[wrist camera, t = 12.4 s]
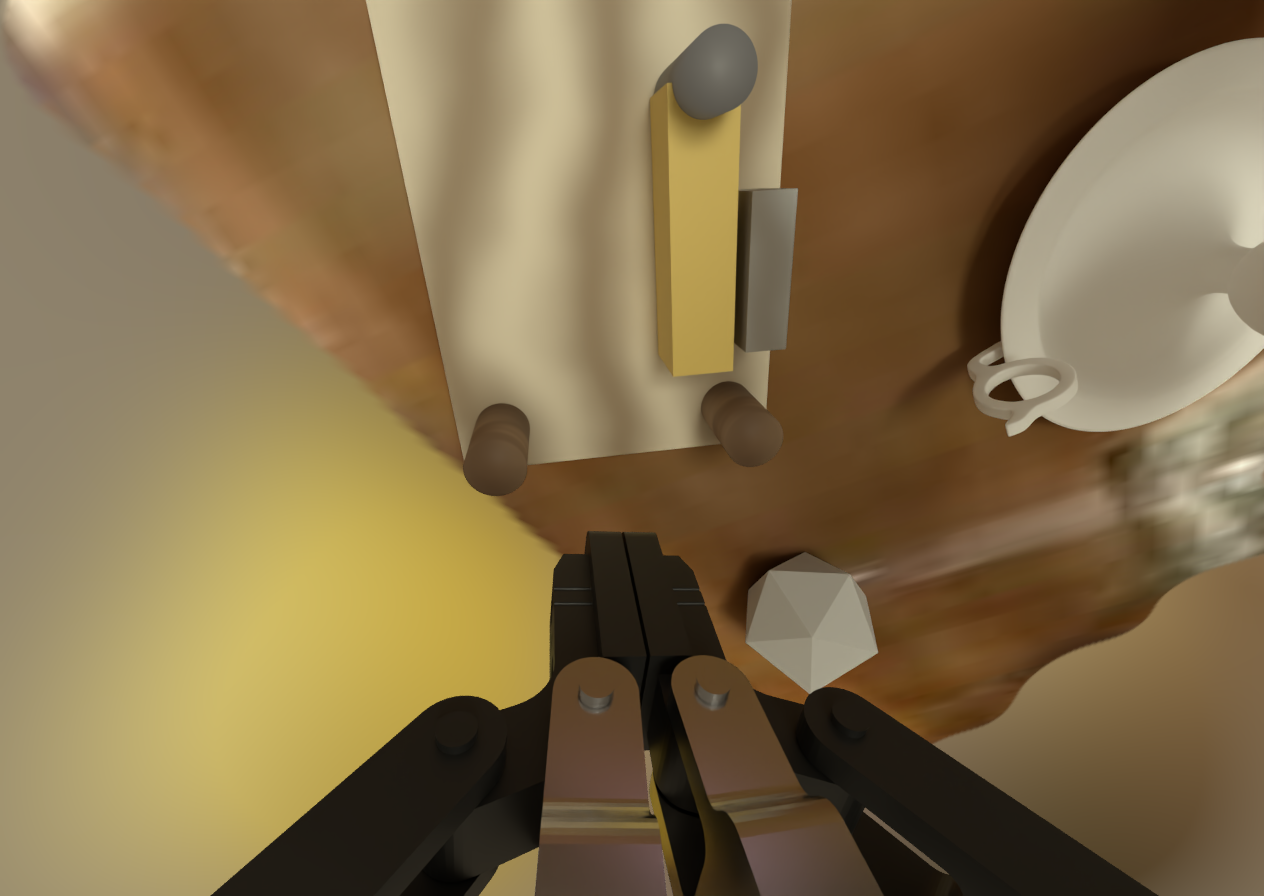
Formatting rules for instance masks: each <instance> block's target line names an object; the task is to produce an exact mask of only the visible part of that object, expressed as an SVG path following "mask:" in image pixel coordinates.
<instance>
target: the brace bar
mask: <svg viewBox="0 0 1264 896" xmlns="http://www.w3.org/2000/svg"><path fill="white" fill-rule="evenodd" d="M757 71H758V60H757V54H756V50H755V47H754V45H753V43H752V41H751V39H750V38H749V36H748V35H747V34H746V33H745V32H744V31H743V30H742V29H740V28H738V27H737V26H734V25H731V24H717V25H713V26H711V27H709V28H707V29H706V30H704V31H703V32H702V33H701V34H700V35H699V36H698V37H697V38H696V39H695V40H694V41H693V42H692V43H691V44H690V45H689V46H688V47H687V48H686V49H685V50H684V51H683V52H682V53H681V54H680V55H679V56H678V57H677V58H676V59H675V60H674V61H673V62H672V63H671V64H670V65H669V66H668V67H667V68H666V69H665V70H664V71H663V73H662V74H661V75H660V77H659V79H658V81H657V83H656V86H655V92H654V95H653V96H652V97H651V98H650V118H651V148H652V179H653V209H654V239H655V269H656V299H657V329H658V355H659V356H660V358H661V359H662V361H663V362H664V364H665V365H666V367H667V368H668V370H669V371H670V373H671V374H672V376H673V377H677V376H687V375H697V374H708V373H718V372H728V371H733V354H734V321H735V287H736V253H737V220H738V186H739V153H740V119H741V104H742V103H743V102H744V101H745V100H746V99H747V98H748V96H749V95H750V93H751V91H752V89H753V87H754V85H755V82H756V78H757Z"/></svg>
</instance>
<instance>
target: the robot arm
mask: <svg viewBox="0 0 1264 896" xmlns="http://www.w3.org/2000/svg"><path fill="white" fill-rule="evenodd" d="M552 588H553V589H552V601H551V616H550V680H549V682H548V683H547V685H546V686H545V687H544V688H543V689H542V691H540V692H539V693H538V694H537V695H535V696H534V697H533V698H531V699H529V700H527V701H525V702H523V703H520V704H518V705H515V706H511V707H509V708H506V709H502V710H498V708H497V707H496V706H495V705H493V704H492V703H491V702H489V701H487V700H485V699H482V698H479V697H474V696H456V697H452V698H448V699H444V700H442V701H440V702H437V703H436V704H434V705H432V706H430V707H429V708H428V709H426V710H425V711H424V712H422V713H421V714H420V715H419V716H418V717H417V718H415V719H414V720H413V721H412V722H411V723H410V724H409V725H407V726H406V727H405V728H404V729H403V730H402V731H401V732H399V733H398V734H397V735H396V736H395V737H393V738H392V739H391V740H390V741H389V742H388V743H386V744H385V745H384V746H383V747H382V748H381V749H380V750H378V751H377V752H376V753H375V754H374V755H373V756H372V757H370V758H369V759H368V760H367V761H366V762H365V763H363V764H362V765H361V766H360V767H359V768H358V769H356V770H355V771H354V772H353V773H352V774H351V775H350V776H348V777H347V778H346V779H345V780H344V781H343V782H341V783H340V784H339V785H338V786H337V787H336V788H335V789H333V790H332V791H331V792H330V793H329V794H328V795H326V796H325V797H324V798H323V799H322V800H321V801H319V802H318V803H317V804H316V805H315V806H314V807H312V808H311V809H310V810H309V811H308V812H307V813H306V814H304V815H303V816H302V817H301V818H300V819H299V820H298V821H296V822H295V823H294V824H293V825H292V826H291V827H289V828H288V829H287V830H286V831H285V832H284V833H282V834H281V835H280V836H279V837H278V838H277V839H276V840H274V841H273V842H272V843H271V844H270V845H269V846H268V847H266V848H265V849H264V850H263V851H262V852H261V853H259V854H258V855H257V856H256V857H255V858H254V859H252V860H251V861H250V862H249V863H248V864H247V865H245V866H244V867H243V868H242V869H241V870H240V871H238V872H237V873H236V874H235V875H234V876H233V877H232V878H230V879H229V880H228V881H227V882H226V883H225V884H224V885H222V886H221V887H220V888H219V889H218V890H217V891H215V892H214V893H213V894H212V895H211V896H479V894H480V893H481V892H482V890H483V889H484V888H485V886H486V885H487V884H488V882H489V881H490V880H491V878H492V877H493V875H494V874H495V872H496V870H497V868H498V866H499V865H500V864H503V863H505V862H507V861H509V860H512V859H514V858H516V857H518V856H520V855H522V854H525V853H527V852H529V851H531V850H533V849H535V848H537V847H539V852H538V864H537V875H536V887H535V896H667V894H666V883H665V873H664V864H663V854H664V859H665V863H666V867H667V871H668V876H669V880H670V884H671V888H672V893H673V896H1158V895H1157V894H1155V893H1153V892H1152V891H1151V890H1149V889H1148V888H1146V887H1145V886H1143V885H1141V884H1140V883H1139V882H1137V881H1136V880H1134V879H1133V878H1131V877H1130V876H1128V875H1127V874H1125V873H1124V872H1122V871H1121V870H1119V869H1118V868H1116V867H1115V866H1113V865H1112V864H1110V863H1109V862H1107V861H1106V860H1104V859H1103V858H1101V857H1100V856H1098V855H1097V854H1095V853H1094V852H1092V851H1091V850H1089V849H1088V848H1086V847H1085V846H1083V845H1082V844H1080V843H1079V842H1077V841H1076V840H1074V839H1073V838H1071V837H1070V836H1068V835H1067V834H1065V833H1064V832H1063V831H1061V830H1060V829H1058V828H1056V827H1055V826H1054V825H1052V824H1050V823H1049V822H1048V821H1046V820H1045V819H1043V818H1041V817H1040V816H1039V815H1037V814H1036V813H1034V812H1032V811H1031V810H1030V809H1028V808H1027V807H1025V806H1024V805H1022V804H1021V803H1019V802H1018V801H1016V800H1015V799H1013V798H1012V797H1010V796H1009V795H1007V794H1006V793H1004V792H1003V791H1001V790H1000V789H998V788H997V787H995V786H994V785H992V784H991V783H989V782H987V781H986V780H985V779H983V778H982V777H980V776H978V775H977V774H975V773H974V772H973V771H971V770H970V769H968V768H967V767H965V766H964V765H962V764H961V763H959V762H958V761H956V760H955V759H953V758H952V757H950V756H949V755H947V754H946V753H944V752H943V751H941V750H940V749H938V748H937V747H935V746H934V745H932V744H931V743H929V742H928V741H927V740H925V739H924V738H922V737H921V736H919V735H918V734H916V733H915V732H913V731H912V730H910V729H909V728H907V727H906V726H904V725H903V724H901V723H900V722H898V721H897V720H895V719H894V718H892V717H891V716H889V715H888V714H886V713H885V712H883V711H882V710H880V709H879V708H877V707H876V706H874V705H873V704H871V703H870V702H868V701H867V700H865V699H864V698H862V697H860V696H859V695H857V694H854V693H852V692H850V691H847V690H844V689H840V688H834V687H825V688H820V689H817V690H815V691H813V692H812V693H811V694H809V696H808V697H807V699H806V701H805V704H804V705H803V704H799V703H795V702H792V701H788V700H784V699H780V698H776V697H772V696H769V695H766V694H763V693H761V692H759V691H756V690H755V689H753V688H752V686H751V684H750V682H749V680H748V679H747V677H746V676H745V675H744V674H743V673H742V672H741V671H740V670H739V669H738V668H737V667H735V666H734V665H733V664H731V663H729V662H727V661H726V659H725V656H724V653H723V651H722V648H721V645H720V643H719V640H718V637H717V634H716V632H715V629H714V626H713V624H712V621H711V618H710V616H709V613H708V610H707V607H706V606H705V605H704V603H705V602H704V599H703V597H702V594H701V591H699V586H698V583H697V580H696V578H695V575H694V572H693V570H692V569H691V568H690V567H689V566H688V565H687V564H686V563H685V562H684V561H683V560H682V559H681V558H680V557H679V556H663V554H662V551H661V548H660V545H659V541H658V538H657V535H656V533H645V532H622V534H621V532H599V531H588V532H587V536H586V545H585V554H563V556H562V557H561V559H560V560H559V562H558V564H557V565H556V567H555V568H554V574H553V587H552ZM644 750H650V756H651V761H652V767H653V770H652V774H651V779H650V784H649V794H650V799H651V803H652V807H653V812H654V815H651V813H650V809H649V801H648V791H647V780H646V767H645V755H644ZM865 807H866V808H867V809H868V810H869V811H871V812H872V813H873V814H875V815H876V816H877V817H878V818H880V819H881V820H882V821H883V822H885V823H886V824H887V825H888V826H890V827H891V828H892V829H893V830H895V831H896V832H897V833H899V834H900V835H901V836H902V837H904V838H905V839H906V840H907V841H909V842H910V843H911V844H913V845H914V846H915V847H916V848H917V849H919V850H920V851H921V852H923V853H924V854H925V855H926V856H928V857H929V858H930V859H931V860H933V861H934V862H935V863H936V864H938V865H939V866H940V867H942V868H943V869H944V870H945V871H946V872H947V873H949V875H947V874H944V873H942V872H940V871H938V870H936V869H935V868H933V867H932V866H930V865H929V864H928V863H927V862H925V861H924V860H923V859H922V858H920V857H919V856H918V855H917V854H915V853H914V852H913V851H912V850H910V849H909V848H908V847H907V846H905V845H904V844H903V843H902V842H900V841H899V840H898V839H897V838H895V837H894V836H893V835H892V834H890V833H889V832H888V831H886V830H885V829H884V828H883V827H882V826H880V825H879V824H878V823H877V822H875V821H874V820H873V819H872V818H870V817H869V816H868V815H866V814H865V813H864V812H863V810H864V808H865ZM662 850H663V853H662Z"/></svg>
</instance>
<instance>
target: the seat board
mask: <svg viewBox="0 0 1264 896" xmlns="http://www.w3.org/2000/svg"><path fill="white" fill-rule="evenodd" d="M366 2H367V7H368V12H369V17H370V21H371V26H372V31H373V35H374V40H375V45H376V49H377V54H378V59H379V64H380V68H381V73H382V78H383V82H384V87H385V92H386V97H387V101H388V106H389V111H390V115H391V120H392V125H393V129H394V134H395V139H396V144H397V148H398V153H399V158H400V162H401V167H402V172H403V176H404V181H405V186H406V191H407V195H408V200H409V205H410V209H411V214H412V219H413V223H414V228H415V233H416V238H417V242H418V247H419V252H420V256H421V261H422V266H423V270H424V275H425V280H426V285H427V289H428V294H429V299H430V303H431V308H432V313H433V318H434V322H435V327H436V332H437V336H438V341H439V346H440V350H441V355H442V360H443V365H444V369H445V374H446V379H447V383H448V388H449V393H450V397H451V402H452V407H453V412H454V416H455V421H456V426H457V430H458V435H459V440H460V444H461V449H462V454H463V459H464V464H463V471H464V475H465V478H466V480H467V481H468V483H469V484H470V485H471V486H472V487H473V488H474V489H476V490H477V491H479V492H481V493H483V494H486V495H491V496H501V495H506V494H509V493H511V492H513V491H515V490H516V489H518V488H519V487H520V486H521V485H522V483H523V482H524V480H525V477H526V474H527V465H533V464H542V463H551V462H560V461H569V460H578V459H587V458H597V457H606V456H615V455H624V454H633V453H642V452H651V451H661V450H670V449H679V448H688V447H697V446H706V445H715V444H721V445H722V446H723V447H724V449H725V450H726V452H727V453H728V455H729V456H730V458H731V459H732V460H733V461H734V462H735V463H737V464H739V465H741V466H745V467H755V466H759V465H762V464H764V463H766V462H768V461H769V460H771V459H772V458H773V457H774V456H775V455H776V454H777V452H778V451H779V449H780V447H781V445H782V442H783V430H782V427H781V425H780V423H779V422H778V421H777V420H776V419H775V418H774V417H773V416H772V415H771V413H770V412H769V411H768V410H767V409H766V405H767V389H768V373H769V357H770V350H780V349H786V340H787V327H788V314H789V301H790V287H791V274H792V261H793V248H794V234H795V221H796V208H797V194H798V188H780V179H781V163H782V147H783V131H784V115H785V99H786V83H787V67H788V51H789V35H790V18H791V2H792V0H366ZM717 24H731V25H734V26H737V27H738V28H740V29H742V30H743V31H744V32H745V33H746V34H747V35H748V36H749V38H750V39H751V41H752V43H753V45H754V47H755V50H756V54H757V60H758V71H757V78H756V82H755V85H754V87H753V89H752V91H751V93H750V95H749V96H748V98H747V99H746V100H745V101H744V102H743V103H742V104H741V119H740V153H739V186H738V220H737V253H736V287H735V321H734V354H733V371H728V372H718V373H708V374H697V375H687V376H677V377H673V376H672V374H671V373H670V371H669V370H668V368H667V367H666V365H665V364H664V362H663V361H662V359H661V358H660V356H659V355H658V329H657V299H656V269H655V239H654V209H653V179H652V148H651V118H650V98H651V97H652V96H653V95H654V92H655V86H656V83H657V81H658V79H659V77H660V75H661V74H662V73H663V71H664V70H665V69H666V68H667V67H668V66H669V65H670V64H671V63H672V62H673V61H674V60H675V59H676V58H677V57H678V56H679V55H680V54H681V53H682V52H683V51H684V50H685V49H686V48H687V47H688V46H689V45H690V44H691V43H692V42H693V41H694V40H695V39H696V38H697V37H698V36H699V35H700V34H701V33H702V32H703V31H704V30H706V29H707V28H709V27H711V26H713V25H717Z"/></svg>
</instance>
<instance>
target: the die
mask: <svg viewBox="0 0 1264 896" xmlns="http://www.w3.org/2000/svg"><path fill="white" fill-rule="evenodd" d="M745 642H746V643H747V644H748V645H750V646H751V647H752V648H753V649H754V650H756V651H757V652H758V653H759V654H761V655H762V656H763V657H764V658H766V659H767V660H768V661H769V662H771V663H772V664H773V665H774V666H776V667H777V668H778V669H779V670H781V671H782V672H783V673H784V674H786V675H787V676H788V677H789V678H791V679H792V680H793V681H794V682H796V683H797V684H798V685H799V686H801V687H802V688H803V689H804V690H806V691H807V692H808V693H809V694H811V693H812V692H813V691H815V690H817V689H820V688H822V687H823V686H825V685H827V684H828V683H830V682H832V681H833V680H835V679H836V678H838V677H840V676H841V675H843V674H845V673H846V672H848V671H849V670H851V669H853V668H854V667H856V666H857V665H859V664H861V663H862V662H864V661H866V660H867V659H869V658H870V657H872V656H874V655H875V654H877V653H878V650H877V645H876V641H875V636H874V631H873V627H872V622H871V617H870V613H869V608H868V603H867V599H866V596H865V594H864V593H863V592H862V590H861V589H860V587H859V586H858V585H857V583H856V582H855V580H854V579H853V578H852V576H851V575H850V574H849V573H847V572H845V571H843V570H841V569H839V568H837V567H835V566H833V565H830V564H828V563H826V562H824V561H822V560H820V559H818V558H816V557H814V556H812V555H810V554H808V553H806V552H804V553H802V554H800V555H798V556H796V557H794V558H792V559H790V560H788V561H786V562H784V563H782V564H780V565H778V566H776V567H774V568H772V569H771V570H769V571H768V572H767V573H766V574H764V575H763V576H762V577H761V578H760V579H759V580H758V581H757V582H756V583H755V584H754V585H753V586H752V587H751V588H750V589H749V590H748V604H747V622H746V641H745Z"/></svg>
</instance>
